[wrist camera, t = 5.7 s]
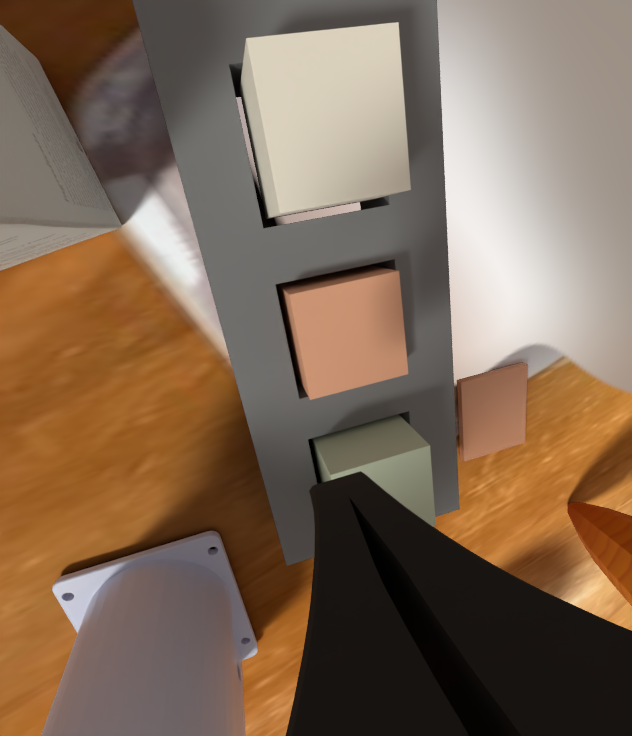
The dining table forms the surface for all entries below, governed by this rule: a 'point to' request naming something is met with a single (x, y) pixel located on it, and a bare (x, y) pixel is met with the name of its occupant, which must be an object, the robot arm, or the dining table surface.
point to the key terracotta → (344, 328)
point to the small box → (42, 166)
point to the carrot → (606, 542)
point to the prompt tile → (492, 411)
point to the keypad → (309, 238)
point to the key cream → (326, 117)
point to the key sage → (382, 461)
